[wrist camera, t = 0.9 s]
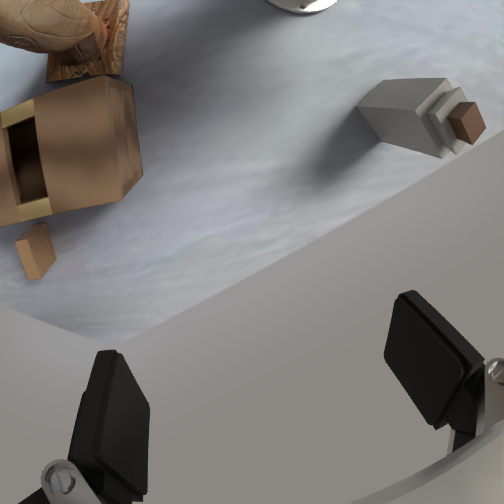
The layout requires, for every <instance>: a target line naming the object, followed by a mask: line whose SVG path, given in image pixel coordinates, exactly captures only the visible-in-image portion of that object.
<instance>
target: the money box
mask: <svg viewBox="0 0 504 504" xmlns="http://www.w3.org/2000/svg"><path fill="white" fill-rule="evenodd" d="M142 176H143V170H142V164H141V157H140V149H139V142H138V134H137V125H136V116H135V106H134V95H133V86H132V85H130V84H127V83H124V82H122V81H119V80H116V79H114V78H111V77H108V76H105V75H102V76H98V77H95V78H91V79H88V80H84V81H81V82H78V83H75V84H71V85H68V86H65V87H62V88H59V89H57V90H54V91H51V92H48V93H46V94H43V95H40V96H38V97H35V98H33V99H30V100H28V101H25V102H23V103H21V104H18V105H16V106H14V107H12V108H9V109H7V110H5V111H3V112H1V113H0V227H3V226H7V225H10V224H14V223H18V222H22V221H26V220H31V219H35V218H39V217H43V216H48V215H52V214H57V213H61V212H66V211H71V210H76V209H81V208H86V207H91V206H96V205H101V204H107V203H112V202H118V201H121V200H122V199H123V197H124V196H125V195H126V194H127V193H128V192H129V190H130V189H131V188H132V187H133V186H134V185H135V184H136V182H137V181H138V180H139V179H140V178H141V177H142Z"/></svg>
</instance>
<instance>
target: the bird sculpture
mask: <svg viewBox="0 0 504 504" xmlns="http://www.w3.org/2000/svg"><path fill="white" fill-rule="evenodd" d="M129 6H130V2H128V0H105V1H97V2H91V3H84V4H83V3H81V2H80V1H79V0H0V42H1V43H3V44H6V45H9V46H13V47H15V48H20V49H24V50H27V51H31V52H35V53H49V54H48V63H47V73H46V84H49V83H50V82H53V81H58V80H60V79H61V80H65V79H70V78H76V77H83V74H85V72H88V70H89V73H91V74H90V75H91V76H92V75H102V74H104V75H115V74H117V75H122V66H123V63H122V62H123V58H124V50H125V49H124V48H125V46H124V45H125V41H126V40H125V39H126V32H127V31H126V27H127V21H128V14H129ZM94 8H95V9H94ZM93 11H95V13H93ZM108 17H110V18H109V19H108V20H107V21H104V19H107V18H108ZM102 21H103V22H102ZM107 27H111V28H110V29H109V28H108V29H107ZM107 37H108V39H107ZM108 40H110V41H109V42H108ZM107 42H108V44H106V43H107ZM107 45H108V47H106V46H107ZM97 56H99V58H96V57H97ZM56 58H58V59H56ZM96 61H97V63H96ZM62 62H63V63H62ZM83 63H84V64H83ZM87 64H89V66H88V65H87ZM83 65H84V67H85V69H84V70H83V68H84V67H82V66H83ZM86 65H87V66H86ZM104 66H105V67H104ZM103 67H104V68H103ZM87 68H88V69H87ZM77 69H78V70H77ZM102 70H103V71H102ZM75 71H76V72H78V74H79V75H78V74H76V73H75ZM80 71H82V72H83V73H82V74H81V73H80ZM89 73H88V74H89ZM73 74H75V76H73V77H71V75H73ZM90 75H89V76H90Z"/></svg>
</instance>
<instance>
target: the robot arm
mask: <svg viewBox="0 0 504 504" xmlns="http://www.w3.org/2000/svg"><path fill="white" fill-rule="evenodd" d="M267 1H268V2H270V3H272V4H273V5H275V6H277V7H279V8H282V9H284V10H287V11H291V12H294V13H303V14H305V13H316V12H320V11H323V10H325V9H327V8H328V7H330V6H332V5H333V4H334V3H335V2H336V1H337V0H267ZM300 7H301V8H302V9H301V8H300ZM384 359H385V361H386V363H387V364H388V366H389V367H390V369H391V370H392V371H393V373H394V374H395V376H396V377H397V379H398V380H399V382H400V383H401V384H402V386H403V387H404V389H405V390H406V392H407V393H408V395H409V396H410V398H411V399H412V401H413V402H414V404H415V405H416V407H417V408H418V410H419V411H420V413H421V414H422V416H423V417H424V419H425V420H426V422H427V423H428V424H429V425H433V427H434V428H435V430H437V429H439V428H441V427H443V426H444V425H446V424H447V423H449V425H450V427H451V431H450V437H449V444H448V450H447V455H446V457H444V458H442V459H441V460H439V461H438V462H436V463H434V464H432V465H430V466H429V467H427V468H425V469H423V470H421V471H419V472H417V473H415V474H414V475H412V476H410V477H408V478H406V479H404V480H401V481H399V482H398V483H395V484H393V485H391V486H388V487H386V488H384V489H382V490H379V491H377V492H375V493H372V494H370V495H367V496H365V497H362V498H360V499H357V500H354V501H352V502H349V503H346V504H504V359H502V358H494V359H491V360H490V361H489V362H487V364H486V366H485V364H484V363H483V362H484V360H485V359H484V358H483V357H482V356H481V354H480V353H479V352H478V351H477V350H476V349H475V348H474V347H473V346H472V345H471V344H470V343H469V342H468V341H467V340H466V339H465V338H464V337H463V336H462V335H461V334H460V333H459V332H458V331H457V330H456V329H455V328H454V327H453V326H452V325H451V324H450V323H449V322H448V321H447V320H446V319H445V318H444V317H443V316H442V315H441V314H440V313H439V312H438V311H437V310H436V309H435V308H434V307H433V306H432V305H431V304H429V303H428V302H427V301H426V300H425V299H424V298H423V297H422V296H421V295H420V294H419V293H418V292H417V291H415V290H411V291H407V292H404V293H401V294H399V296H398V298H397V299H396V300H395V302H394V307H393V313H392V318H391V323H390V328H389V333H388V337H387V342H386V346H385V350H384ZM149 421H150V407H149V403H148V402H147V400H146V398H145V396H144V394H143V393H142V391H141V389H140V387H139V385H138V384H137V382H136V380H135V378H134V376H133V374H132V372H131V371H130V369H129V367H128V365H127V363H126V361H125V359H124V357H123V355H122V354H121V353H117V351H116V350H104V351H98V353H97V355H96V358H95V361H94V365H93V368H92V371H91V375H90V378H89V382H88V385H87V389H86V391H85V392H84V393H83V395H82V398H81V402H80V406H79V410H78V414H77V418H76V422H75V426H74V431H73V435H72V439H71V444H70V449H69V454H68V459H67V460H63V459H58V460H54V461H52V462H50V463H49V464H48V465H46V467H45V468H44V470H43V471H42V475H41V485H42V487H41V488H40V489H38V490H37V491H36V492H34V493H33V494H31V495H30V496H29V497H27V498H26V499H24V500H23V501H21V502H20V503H18V504H132V501H135V502H143V495H146V494H147V487H148V486H147V485H148V482H147V481H148V480H147V479H148V476H147V475H148V440H149Z"/></svg>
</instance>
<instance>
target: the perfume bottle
mask: <svg viewBox="0 0 504 504" xmlns="http://www.w3.org/2000/svg"><path fill="white" fill-rule="evenodd" d="M355 107H356V108H357V109H358V111H359V112H360V113H361V115H362V116H363V117H364V119H365V120H366V121H367V123H368V124H369V125H370V127H371V128H372V129H373V131H374V132H375V134H376V135H377V136H378V138H379V139H380V141H381V142H385V143H389V144H393V145H396V146H400V147H404V148H407V149H411V150H414V151H418V152H421V153H424V154H428V155H431V156H434V157H437V158H440V159H443V158H444V156H445V155H446V154H447V153H448V152H449V151H452V152H453V153H454V154H456V155H457V154H458V153H459V151H460V150H461V149H462V148H463V147H464V145H465V144H466V143H468V144H471V145H473V144H474V143H475V141H476V140H477V139H478V138H479V136H480V135H481V134H482V133H483V131H484V130H485V129H486V126H485V123H484V121H483V119H482V116H481V114H480V112H479V109H478V107H477V105H476V103H475V102H468V101H467V99H466V97H465V95H464V93H463V91H462V89H461V87H458V88H455V89H452V87H451V85H450V83H449V81H448V80H447V78H415V79H394V80H383V81H382V82H381V83H380V84H379V85H378V86H377V87H376V88H375V89H373V90H372V91H371V92H370V93H369V94H368V95H367V96H366V97H365V98H364V99H363V100H361V101H360V102H359V103H358V104H357V105H356V106H355Z"/></svg>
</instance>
